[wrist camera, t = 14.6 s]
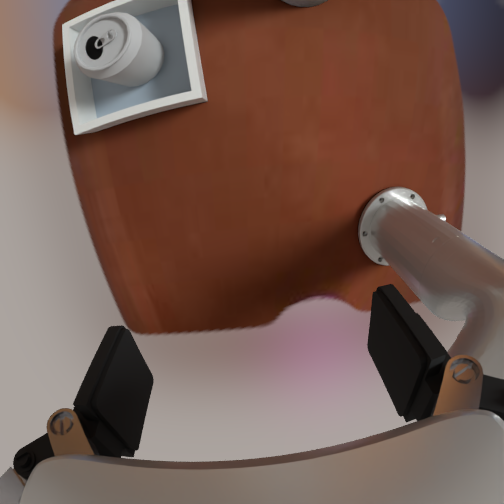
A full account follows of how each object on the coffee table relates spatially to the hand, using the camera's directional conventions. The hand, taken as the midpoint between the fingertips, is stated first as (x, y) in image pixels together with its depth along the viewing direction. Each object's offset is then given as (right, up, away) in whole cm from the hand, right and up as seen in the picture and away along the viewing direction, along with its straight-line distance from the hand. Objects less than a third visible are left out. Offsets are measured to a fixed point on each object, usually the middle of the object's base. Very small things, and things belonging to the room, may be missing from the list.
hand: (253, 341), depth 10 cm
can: (-15, +28, +19) cm, 37 cm away
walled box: (-15, +28, +20) cm, 37 cm away
